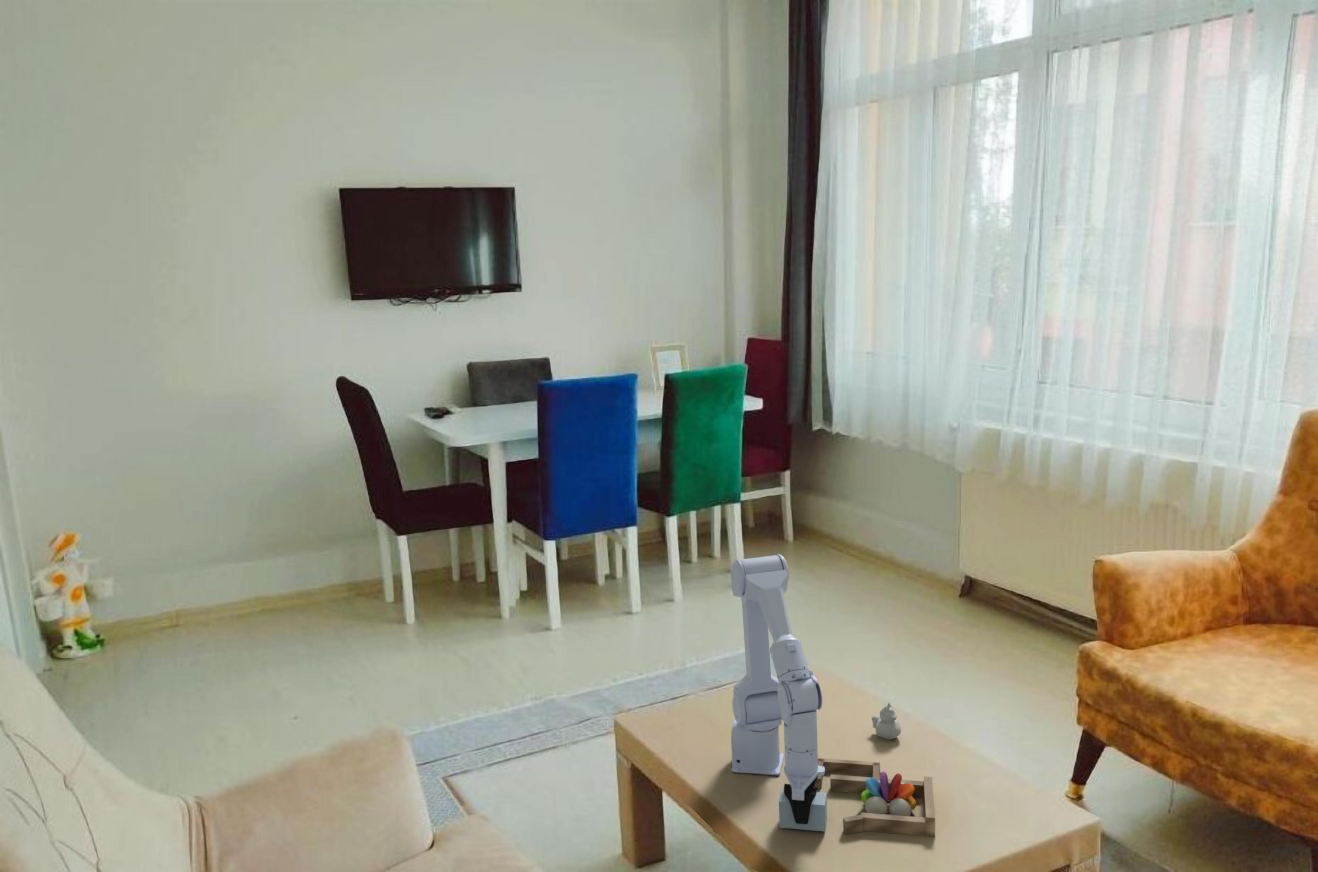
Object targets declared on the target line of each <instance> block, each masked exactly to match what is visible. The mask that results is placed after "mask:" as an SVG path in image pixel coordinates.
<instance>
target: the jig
mask: <svg viewBox="0 0 1318 872" xmlns="http://www.w3.org/2000/svg"><path fill="white" fill-rule="evenodd" d="M818 765H819V766H823V767H825V772H829V773H830V772H833V773H845V774H858V775H859V774H860V775H872V778H874V779H876V780H877V781H880V773H881V762H880V761H867V760H866V761H864V760H850V759H835V758H821V757H818ZM868 778H870V777H867V776H857V775H856V776H855V775H854V776H853V775H842V774H841V775H840V774H830V779H829V780H830V782H829V784H830V786H829V787H830V788H829V789H830V791H831V792H840V793H842V792H843V793H852V794H853V793H854V794H862V792H863V791H865V790H866V787H867V785H866V780H867V779H868ZM823 779H824V775H822V776H821V775H819V776H818V778H817V780H816V782H815V785H814V788H817V789H822V787H823ZM892 779H893V778H888V783H889V785H890V783H891V781H892ZM901 783H910V784H912V785H913V786H914V788H915V790H914V792H913V794H912V797H913V798H919V799H923V803H924V804H923V805H924V817H921V816H911V815H910V816H898V815H890V814H874V813H867V812H860V814H857V815H852V816H846V817H843V818H842V825H843V826H842V828H843V829H842V831H843V832H844V834H845V835H852V834H857V833H864V832H865V831H866V832H877V833H888V834H899V835H901V834H902V835H912V836H923V837H925V836H926V837H933V838H934V837H936V813H935V798H934V796H935V795H934V785H933V777H932V776H923V780H912V779H911V780H909V779H902V780H901Z"/></svg>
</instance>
